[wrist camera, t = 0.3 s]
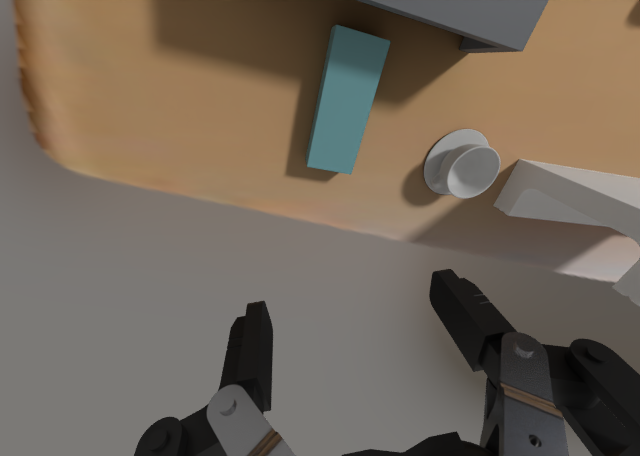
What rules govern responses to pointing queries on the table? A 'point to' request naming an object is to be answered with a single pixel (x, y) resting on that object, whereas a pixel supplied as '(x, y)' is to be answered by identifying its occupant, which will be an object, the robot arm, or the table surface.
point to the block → (577, 203)
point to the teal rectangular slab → (345, 98)
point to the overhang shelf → (474, 20)
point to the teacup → (461, 164)
